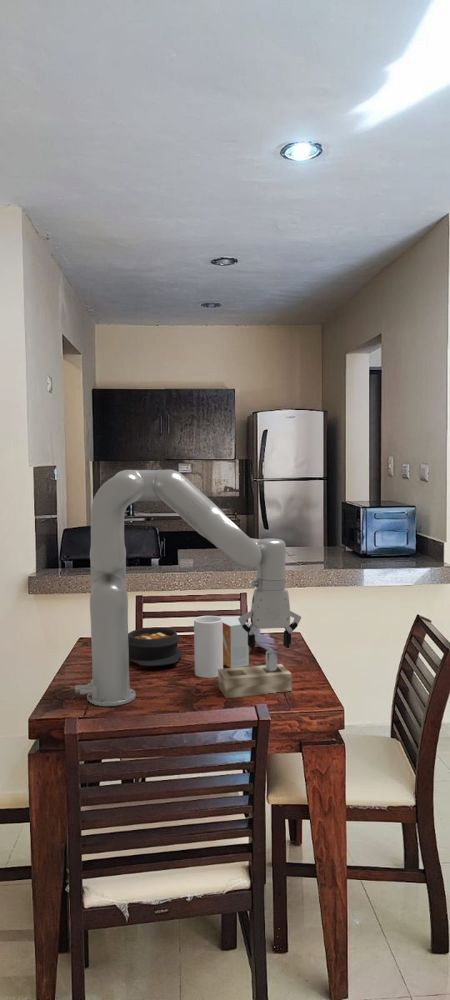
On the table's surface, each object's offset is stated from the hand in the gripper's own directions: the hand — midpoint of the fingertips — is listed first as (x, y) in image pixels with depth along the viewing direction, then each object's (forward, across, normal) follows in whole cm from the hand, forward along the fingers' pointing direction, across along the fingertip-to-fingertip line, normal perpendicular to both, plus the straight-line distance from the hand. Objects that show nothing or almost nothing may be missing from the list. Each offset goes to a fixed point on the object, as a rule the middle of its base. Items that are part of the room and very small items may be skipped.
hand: (269, 647), depth 198 cm
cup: (+12, -13, +17) cm, 24 cm away
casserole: (+12, -27, +35) cm, 46 cm away
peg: (+11, +1, 0) cm, 11 cm away
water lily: (+11, +8, +34) cm, 37 cm away
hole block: (+11, -4, 0) cm, 12 cm away
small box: (+12, -4, +24) cm, 27 cm away
